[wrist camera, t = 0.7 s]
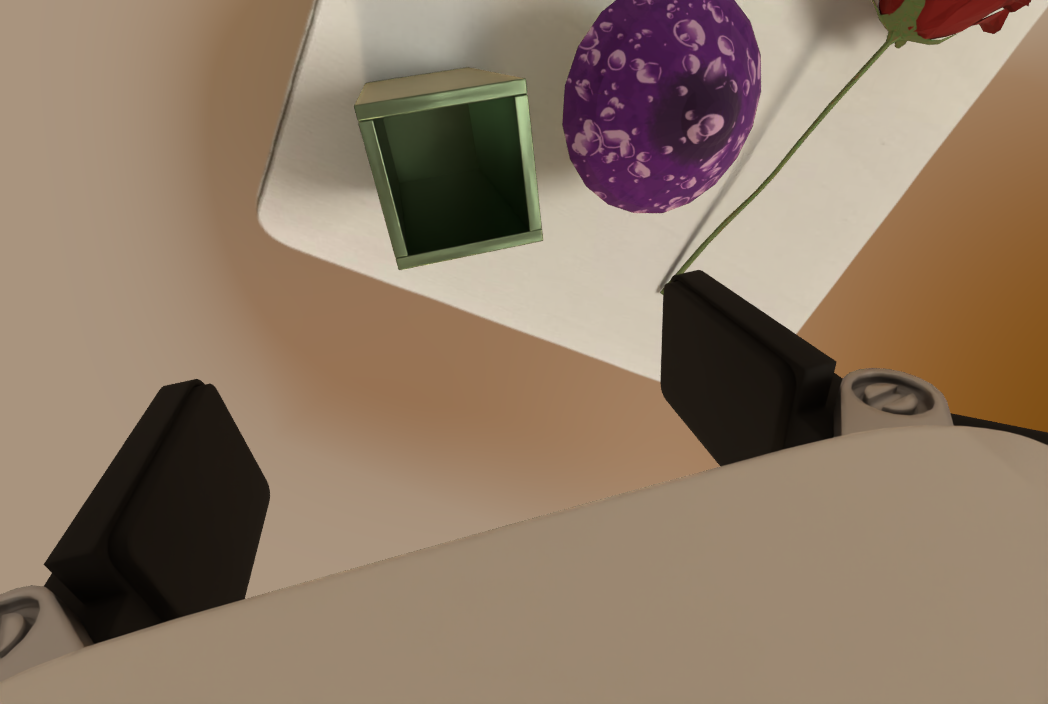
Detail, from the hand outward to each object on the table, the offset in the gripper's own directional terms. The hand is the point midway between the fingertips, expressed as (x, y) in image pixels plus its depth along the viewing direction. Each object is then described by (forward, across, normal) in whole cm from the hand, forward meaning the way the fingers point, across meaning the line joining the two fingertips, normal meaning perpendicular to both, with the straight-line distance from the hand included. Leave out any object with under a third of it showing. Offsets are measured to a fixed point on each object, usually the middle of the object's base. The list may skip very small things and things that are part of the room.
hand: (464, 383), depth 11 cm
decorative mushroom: (+30, -15, -2) cm, 34 cm away
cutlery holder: (+30, -2, -1) cm, 30 cm away
